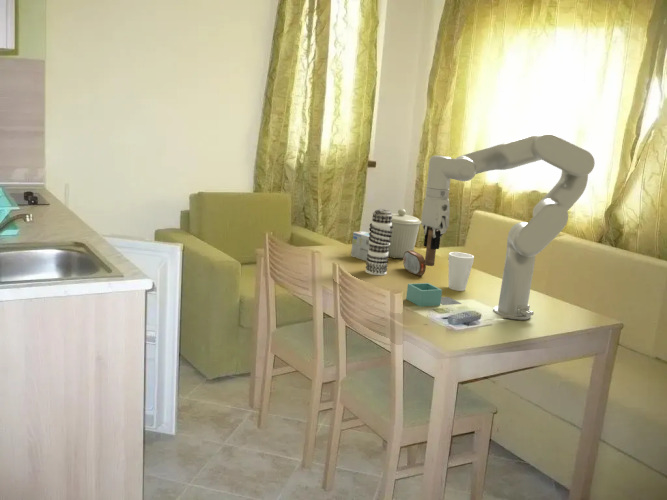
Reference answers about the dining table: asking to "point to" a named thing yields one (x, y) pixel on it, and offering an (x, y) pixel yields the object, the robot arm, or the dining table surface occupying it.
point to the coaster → (448, 301)
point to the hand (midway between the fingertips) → (431, 247)
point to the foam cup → (459, 270)
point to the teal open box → (424, 294)
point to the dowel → (430, 250)
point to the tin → (414, 262)
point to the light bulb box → (360, 245)
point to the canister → (403, 234)
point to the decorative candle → (379, 242)
